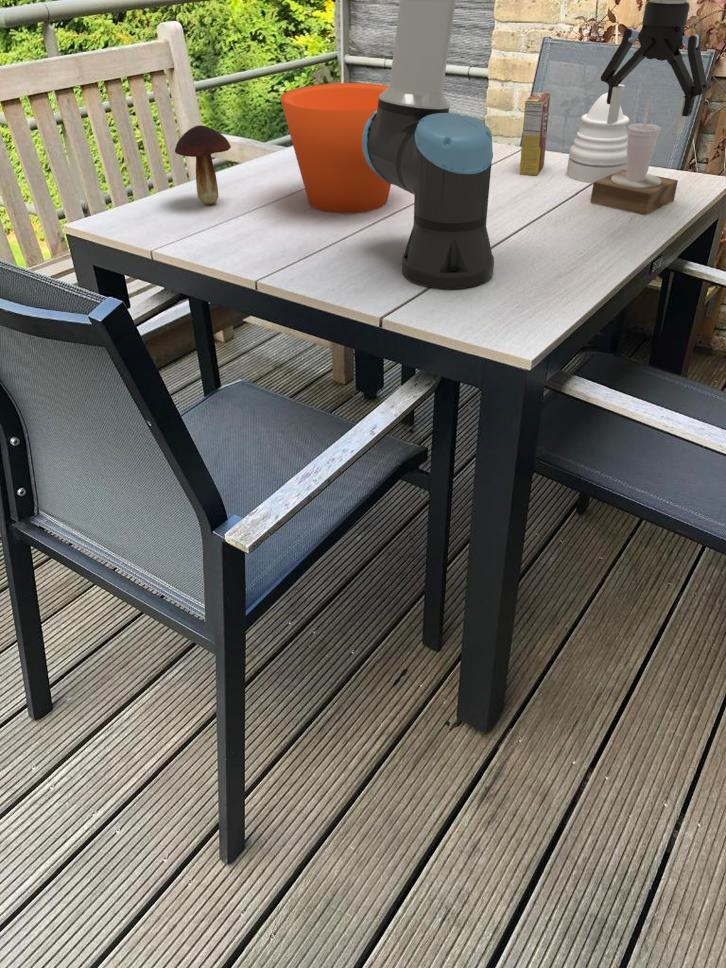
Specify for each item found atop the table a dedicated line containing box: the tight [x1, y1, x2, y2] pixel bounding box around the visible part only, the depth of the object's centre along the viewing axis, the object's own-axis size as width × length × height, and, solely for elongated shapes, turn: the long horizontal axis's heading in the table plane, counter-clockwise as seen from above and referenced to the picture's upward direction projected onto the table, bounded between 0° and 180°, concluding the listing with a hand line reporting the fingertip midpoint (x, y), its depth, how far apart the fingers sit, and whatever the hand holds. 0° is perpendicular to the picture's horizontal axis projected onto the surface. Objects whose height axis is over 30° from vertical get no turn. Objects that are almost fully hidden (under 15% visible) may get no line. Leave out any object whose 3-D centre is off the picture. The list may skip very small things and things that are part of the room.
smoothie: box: [626, 101, 662, 182], centre depth 160 cm, size 6×6×14 cm
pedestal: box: [590, 169, 679, 216], centre depth 165 cm, size 12×12×4 cm
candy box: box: [519, 92, 551, 177], centre depth 181 cm, size 9×4×15 cm, turn 160°
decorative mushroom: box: [174, 125, 232, 205], centre depth 164 cm, size 11×11×15 cm
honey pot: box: [566, 83, 631, 184], centre depth 176 cm, size 13×13×18 cm
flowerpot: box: [279, 82, 392, 214], centre depth 163 cm, size 25×25×20 cm
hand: (643, 128), depth 158 cm, fingers open, 13 cm apart
